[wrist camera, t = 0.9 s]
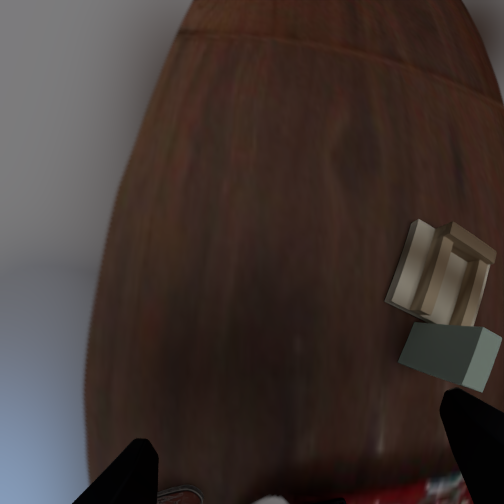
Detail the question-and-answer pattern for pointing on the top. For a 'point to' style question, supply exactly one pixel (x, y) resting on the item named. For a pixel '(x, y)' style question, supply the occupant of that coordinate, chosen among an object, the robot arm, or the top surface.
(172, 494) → the lighter
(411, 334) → the plank
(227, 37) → the top surface
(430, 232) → the groove base
